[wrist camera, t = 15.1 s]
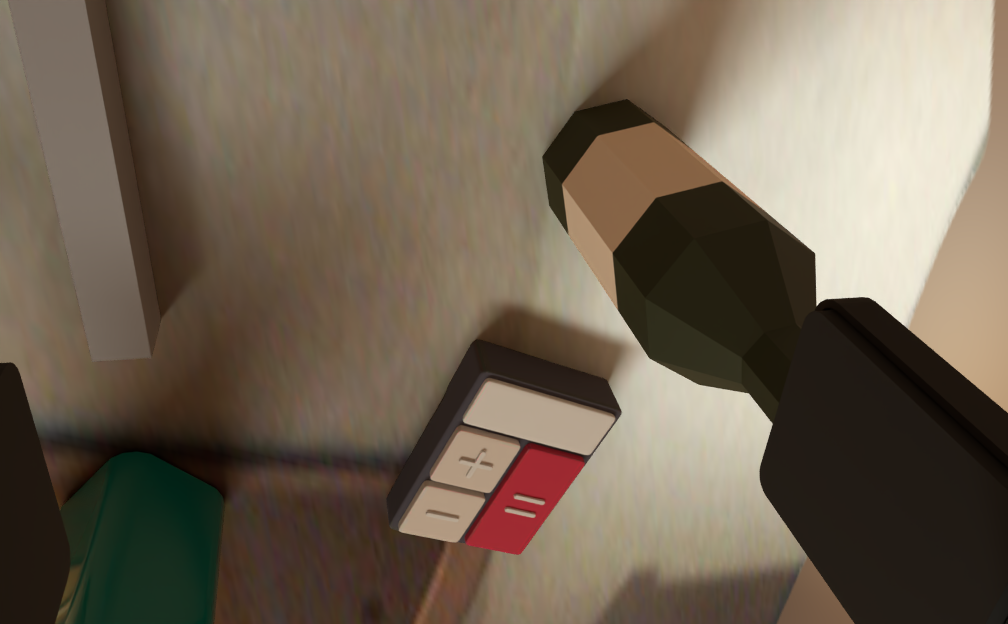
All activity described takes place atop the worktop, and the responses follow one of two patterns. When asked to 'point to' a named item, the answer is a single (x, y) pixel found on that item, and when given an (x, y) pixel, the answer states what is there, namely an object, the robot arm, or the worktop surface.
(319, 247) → the worktop surface
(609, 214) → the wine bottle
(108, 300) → the block
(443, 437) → the calculator
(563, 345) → the worktop surface
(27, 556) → the robot arm
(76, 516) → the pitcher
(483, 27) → the worktop surface
